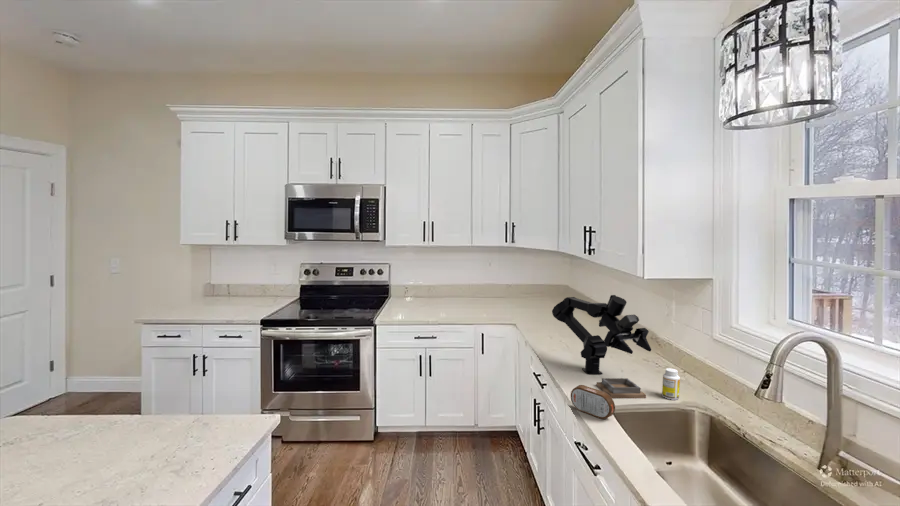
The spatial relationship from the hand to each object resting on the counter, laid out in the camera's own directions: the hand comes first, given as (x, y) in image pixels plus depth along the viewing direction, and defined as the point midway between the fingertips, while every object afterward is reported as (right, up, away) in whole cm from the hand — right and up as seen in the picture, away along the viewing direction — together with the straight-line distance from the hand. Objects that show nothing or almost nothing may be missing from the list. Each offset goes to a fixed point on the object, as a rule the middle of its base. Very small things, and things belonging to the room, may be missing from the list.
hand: (641, 351), depth 164 cm
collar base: (-7, -15, +2) cm, 17 cm away
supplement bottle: (+9, -16, -2) cm, 19 cm away
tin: (-24, -17, -18) cm, 35 cm away
